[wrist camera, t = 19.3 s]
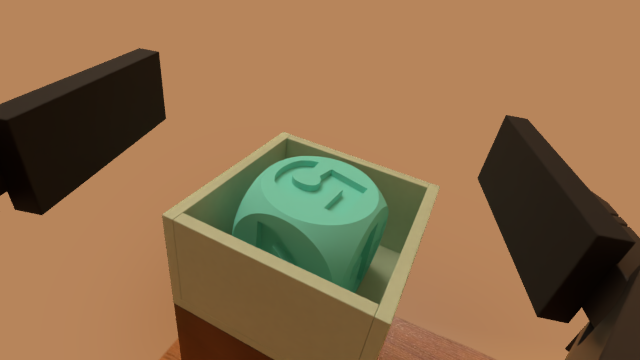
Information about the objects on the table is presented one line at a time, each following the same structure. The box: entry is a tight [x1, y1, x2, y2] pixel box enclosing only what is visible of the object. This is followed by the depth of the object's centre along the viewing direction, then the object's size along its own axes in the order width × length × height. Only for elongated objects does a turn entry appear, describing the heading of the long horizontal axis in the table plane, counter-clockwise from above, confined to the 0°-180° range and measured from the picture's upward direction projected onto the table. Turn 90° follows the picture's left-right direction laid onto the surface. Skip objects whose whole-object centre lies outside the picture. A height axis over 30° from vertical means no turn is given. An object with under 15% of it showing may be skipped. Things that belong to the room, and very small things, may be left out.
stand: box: [174, 303, 274, 360], centre depth 32 cm, size 14×14×16 cm
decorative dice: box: [232, 156, 389, 293], centre depth 25 cm, size 8×8×8 cm
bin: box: [162, 132, 440, 360], centre depth 26 cm, size 14×14×8 cm
